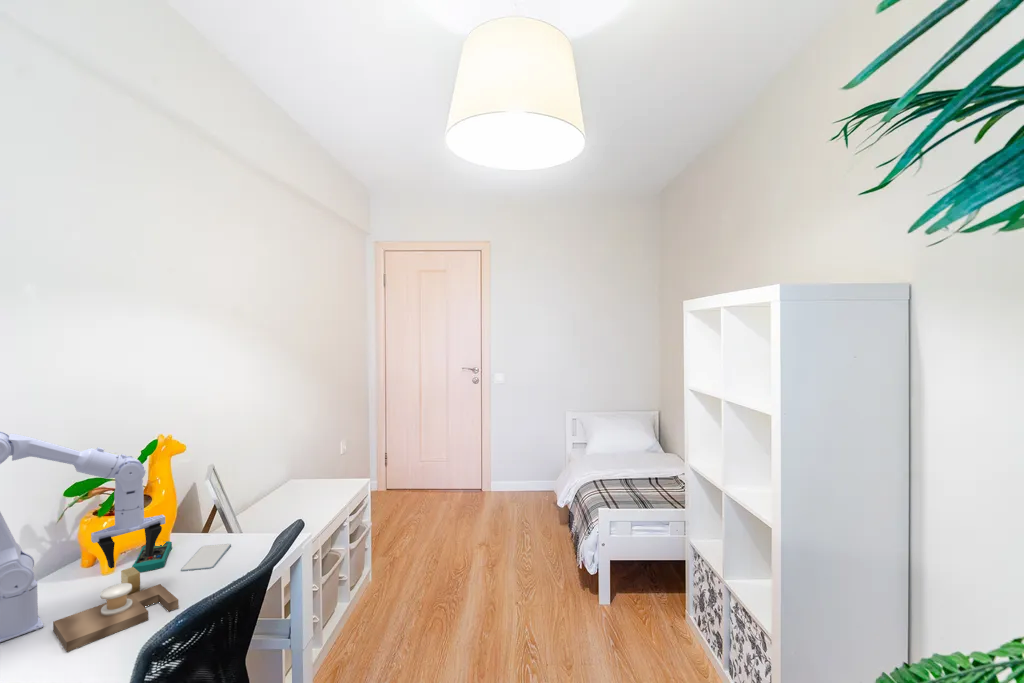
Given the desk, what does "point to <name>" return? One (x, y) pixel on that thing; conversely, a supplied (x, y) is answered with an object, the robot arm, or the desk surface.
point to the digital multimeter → (152, 558)
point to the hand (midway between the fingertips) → (130, 560)
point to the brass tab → (131, 579)
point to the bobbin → (116, 599)
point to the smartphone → (206, 557)
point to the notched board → (110, 618)
